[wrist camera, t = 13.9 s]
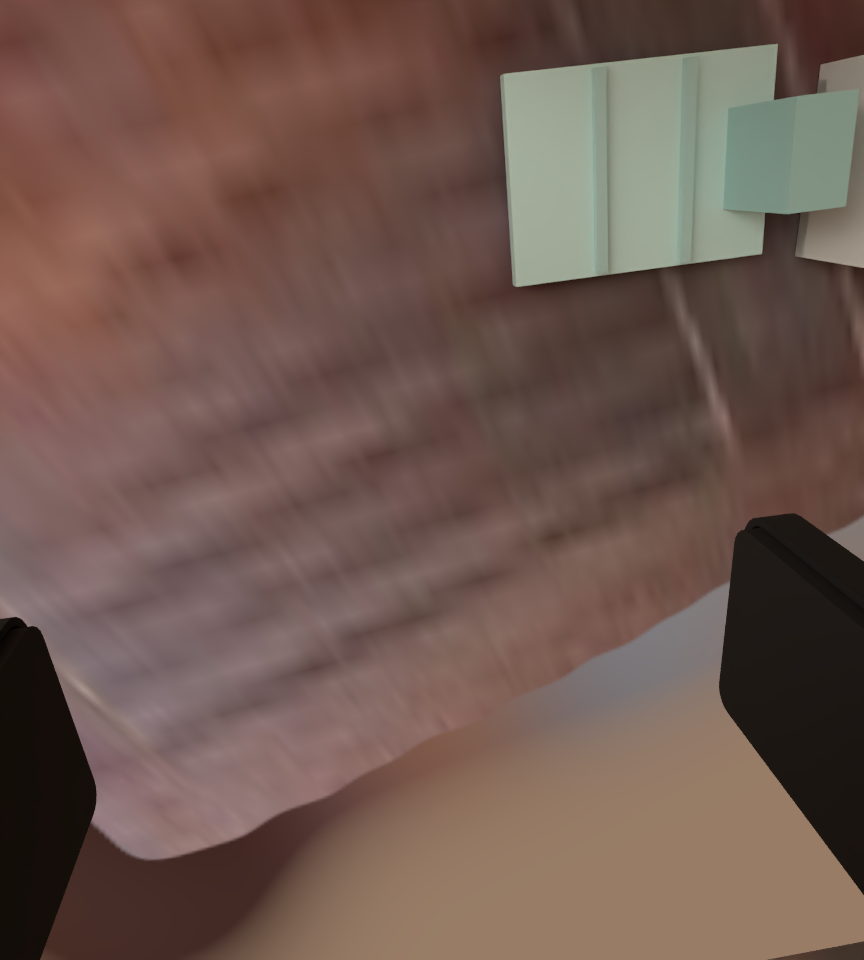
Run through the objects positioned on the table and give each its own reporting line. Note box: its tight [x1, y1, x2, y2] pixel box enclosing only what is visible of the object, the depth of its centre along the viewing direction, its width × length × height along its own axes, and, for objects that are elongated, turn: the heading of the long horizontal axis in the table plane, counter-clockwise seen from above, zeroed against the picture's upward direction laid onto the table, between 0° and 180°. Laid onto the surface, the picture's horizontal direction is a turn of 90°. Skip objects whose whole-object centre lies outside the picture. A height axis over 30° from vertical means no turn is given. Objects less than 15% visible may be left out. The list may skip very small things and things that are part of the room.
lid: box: [500, 44, 860, 287], centre depth 36 cm, size 10×15×8 cm
